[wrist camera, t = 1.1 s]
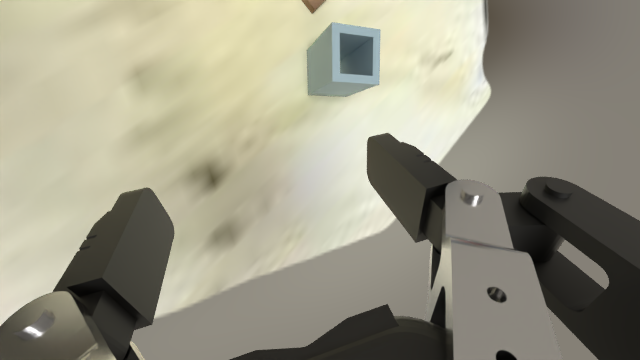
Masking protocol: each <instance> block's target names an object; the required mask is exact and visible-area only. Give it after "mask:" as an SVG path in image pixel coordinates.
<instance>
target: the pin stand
mask: <svg viewBox="0 0 640 360" xmlns="http://www.w3.org/2000/svg"><path fill="white" fill-rule="evenodd" d="M302 1H303V3H304V4H305V5H306V6H307V8H308V9H309V10H310V11H311V13H313V12H314V11H315V10H316V9H317V8H318V7H319V6H320V5H321V4H322V3H323V2H324V1H325V0H302Z"/></svg>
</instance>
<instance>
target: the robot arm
mask: <svg viewBox="0 0 640 360" xmlns="http://www.w3.org/2000/svg"><path fill="white" fill-rule="evenodd" d="M367 175H368V179H369V181H370V183H371V185H372V186H373V188H374V189H375V190H376V192H377V193H378V194H379V195H380V197H381V198H382V199H383V201H384V202H385V203H386V205H387V206H388V207H389V208H390V210H391V211H392V212H393V214H394V215H395V216H396V218H397V219H398V220H399V221H400V223H401V224H402V225H403V227H404V228H405V229H406V231H407V232H408V233H409V234H410V236H411V237H412V238H413V240H414V241H415V242H420V241H423V240H426V239H428V240H429V241H430V242H431V243H432V245H431V250H430V266H429V285H428V300H427V307H426V312H425V320H422V319H417V318H413V317H405V316H393V314H392V312H391V310H390V308H389V306H388V304H386V305H383V306H380V307H378V308H375V309H372V310H370V311H366V312H363V313H361V314H358V315H355V316H352V317H349V318H347V319H345V320H344V321H342V322H341V323H340V324H338V325H337V326H335V327H334V328H333V329H331V330H330V331H328V332H327V333H326V334H324V335H323V336H321V337H320V338H318V339H317V340H316V341H314V342H313V343H311V344H310V345H308V346H306V347H302V348H288V349H271V350H256V351H253V352H250V353H247V354H244V355H241V356H239V357H236V358H233V359H230V360H563V358H562V355H561V352H560V349H559V345H558V342H557V339H556V336H555V332H554V329H553V326H552V323H551V319H550V316H549V313H548V310H547V307H548V308H549V309H550V310H551V311H552V312H553V313H554V314H555V315H556V316H557V317H558V318H559V319H560V320H561V321H562V322H563V323H564V324H565V325H566V327H567V328H568V329H569V330H570V331H571V332H572V333H574V335H575V336H576V337H577V338H578V339H579V340H580V341H581V342H582V343H583V344H584V345H585V346H586V347H587V348H588V349H589V350H590V351H591V352H592V353H593V354H594V355H595V356H596V357H597V359H598V360H640V221H639V220H637V219H635V218H634V217H632V216H630V215H628V214H627V213H625V212H623V211H621V210H619V209H618V208H616V207H614V206H612V205H611V204H609V203H607V202H605V201H604V200H602V199H600V198H598V197H597V196H595V195H593V194H591V193H589V192H588V191H586V190H584V189H582V188H580V187H579V186H577V185H575V184H573V183H570V182H568V181H565V180H562V179H558V178H552V177H536V178H532V179H530V180H529V181H528V182H527V183H526V185H525V187H524V189H523V191H522V192H512V193H511V192H510V193H498V192H497V191H496V190H494V189H493V188H492V187H490V186H488V185H486V184H484V183H481V182H478V181H474V180H457V179H456V178H454V177H453V176H452V175H450V174H449V173H448V172H447V171H445V170H444V169H443V168H441V167H440V166H439V165H438V164H436V163H435V162H434V161H431V159H430V158H429V157H427V156H426V155H424V153H422V152H421V151H420V150H418V149H417V148H416V147H414V146H412V145H409V144H407V143H404V142H401V143H400V142H399V141H398V140H397V139H395V138H394V137H393V136H392V135H391V134H389V133H385V134H381V135H376V136H372V137H369V138H368V142H367ZM86 238H87V240H84V242H83V244H82V245H81V247H80V248H79V249H80V251H78V252H77V253H76V255H75V256H74V258H73V260H72V261H71V263H70V264H69V266H68V268H67V269H66V271H65V273H64V274H63V276H62V277H61V279H60V281H59V282H58V284H57V285H56V287H55V289H54V290H53V292H52V293H49V294H46V295H43V296H41V297H39V298H37V299H35V300H33V301H31V302H30V303H28V304H26V305H25V306H23V307H22V308H20V309H19V310H18V311H17V312H15V313H14V314H13V315H12V316H10V317H9V318H8V319H7V320H6V321H5V322H4V323H3V324H2V325H1V326H0V360H145V359H144V357H143V356H142V354H141V353H140V351H139V350H138V349H137V347H136V345H135V344H134V343H133V342H131V338H132V334H133V331H134V330H136V329H139V328H143V327H146V326H149V325H152V323H153V319H154V315H155V311H156V307H157V303H158V299H159V295H160V291H161V287H162V283H163V279H164V275H165V271H166V267H167V263H168V258H169V254H170V250H171V246H172V242H173V238H174V226H173V223H172V221H171V219H170V217H169V215H168V214H167V212H166V211H165V209H164V208H163V206H162V204H161V203H160V201H159V200H158V198H157V196H156V195H155V193H154V192H153V191H152V190H151V189H150V188H143V189H138V190H134V191H130V192H125V193H122V194H121V195H120V196H119V198H118V200H117V201H116V203H115V205H114V206H113V208H112V210H111V211H109V212H107V213H106V214H105V215H104V216H103V217H102V218H101V219H100V220H99V221H98V222H96V223H95V224H94V226H93V227H92V229H91V231H90V232H89V234H88V236H87V237H86ZM564 240H567V241H568V242H569V243H571V244H572V245H573V246H575V247H576V248H577V249H579V250H580V251H581V252H582V253H584V254H585V255H586V256H588V257H589V258H590V259H592V260H593V261H594V262H596V263H597V264H598V265H599V266H601V267H602V268H603V269H604V270H605V272H606V274H607V275H608V278H609V286H608V287H607V289H604V288H603V287H601V286H600V285H599V284H598V283H596V282H595V281H594V280H593V279H592V278H590V277H589V276H588V275H586V274H585V273H584V272H583V271H582V270H580V269H579V268H578V267H577V266H576V265H574V264H573V263H572V262H571V261H569V260H568V259H567V258H566V257H564V256H563V255H562V254H561V253H559V252H558V251H557V250H558V249H559V247H560V246H561V244H562V243H563V242H564Z"/></svg>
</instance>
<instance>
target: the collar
mask: <svg viewBox="0 0 640 360" xmlns="http://www.w3.org/2000/svg"><path fill="white" fill-rule="evenodd" d="M307 68H308V95H322V96H345V97H346V96H349V95H352V94H354V93H357V92H360V91H363V90H365V89H368V88H371V87H374V86H376V85H379V71H380V29H373V28H366V27H360V26H353V25H346V24H339V23H333V22H332V23H331V24H330V25H329V26H328V27H327V29H326V30H325V31H324V32H323V33H322V34H321V35H320V36H319V37H318V39H317V40H316V41H315V42H314V43H313V44H312V45H311V46H310V47H309V49H308V50H307Z"/></svg>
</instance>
